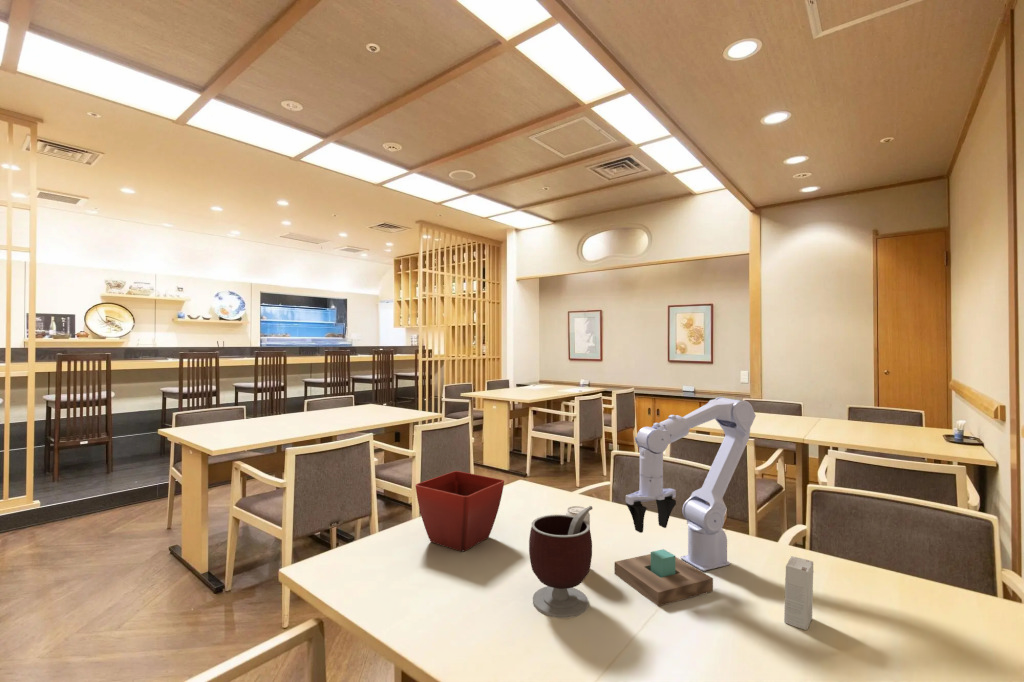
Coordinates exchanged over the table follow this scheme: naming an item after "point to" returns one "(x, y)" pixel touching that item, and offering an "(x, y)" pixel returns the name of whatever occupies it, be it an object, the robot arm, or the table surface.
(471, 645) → the table surface
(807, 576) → the skincare box
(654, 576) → the holder block
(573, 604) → the mate gourd
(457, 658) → the table surface
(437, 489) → the plant pot
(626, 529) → the table surface
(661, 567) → the teal peg
